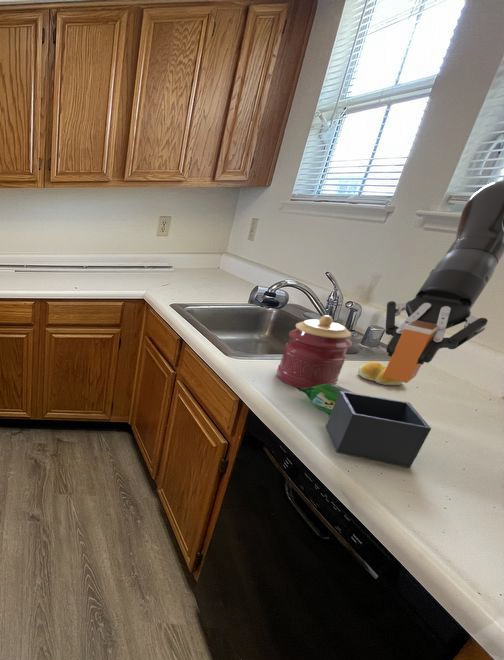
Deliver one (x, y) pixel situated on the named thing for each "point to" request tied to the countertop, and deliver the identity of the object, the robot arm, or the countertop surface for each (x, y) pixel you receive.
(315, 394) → the snack package
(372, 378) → the bread roll
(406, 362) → the drink carton
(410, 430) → the storage bin
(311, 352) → the kitchen canister
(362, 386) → the countertop surface
